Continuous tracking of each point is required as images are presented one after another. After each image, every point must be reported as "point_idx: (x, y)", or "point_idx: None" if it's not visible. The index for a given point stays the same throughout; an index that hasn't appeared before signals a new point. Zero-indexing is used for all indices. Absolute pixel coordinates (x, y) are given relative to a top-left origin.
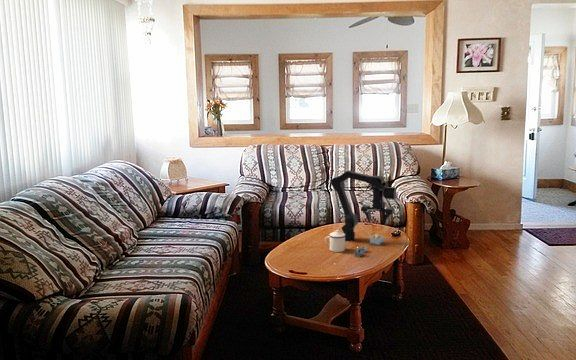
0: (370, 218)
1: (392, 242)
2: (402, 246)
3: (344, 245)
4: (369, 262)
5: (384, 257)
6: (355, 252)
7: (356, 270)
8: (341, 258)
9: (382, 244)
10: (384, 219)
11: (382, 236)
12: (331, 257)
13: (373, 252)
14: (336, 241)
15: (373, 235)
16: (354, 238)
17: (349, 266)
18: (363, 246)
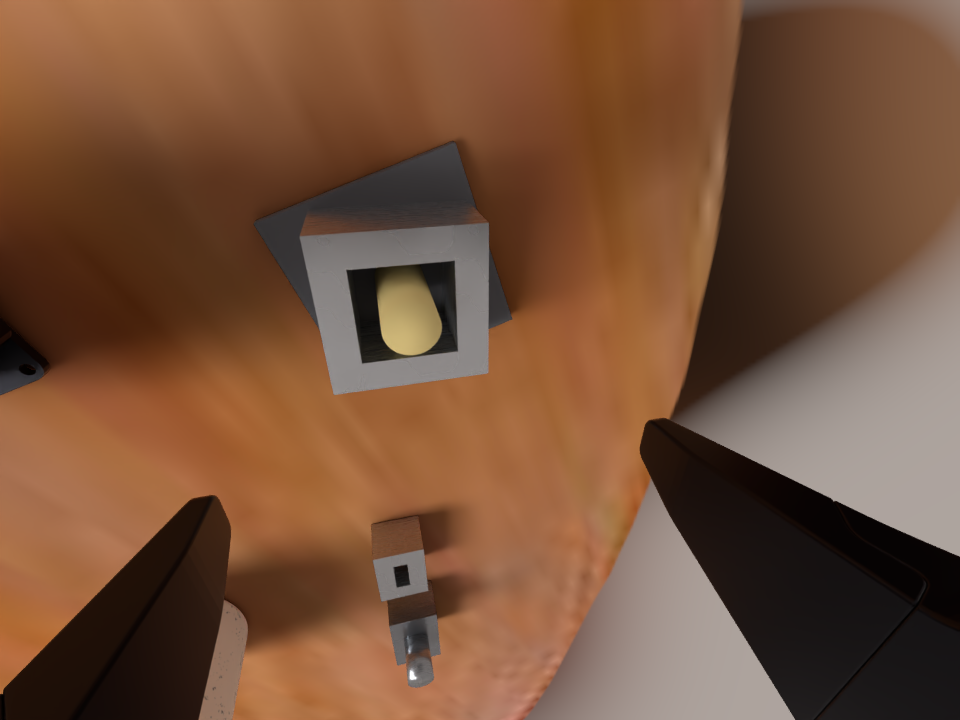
0: (152, 627)
1: (575, 99)
2: (710, 210)
3: (236, 667)
4: (527, 632)
5: (592, 535)
6: (404, 661)
7: (504, 711)
8: (339, 689)
9: (492, 303)
10: (751, 638)
11: (478, 240)
12: (269, 714)
13: (484, 510)
14: None
15: (314, 268)
16: (4, 336)
17: (451, 710)
18: (389, 561)
